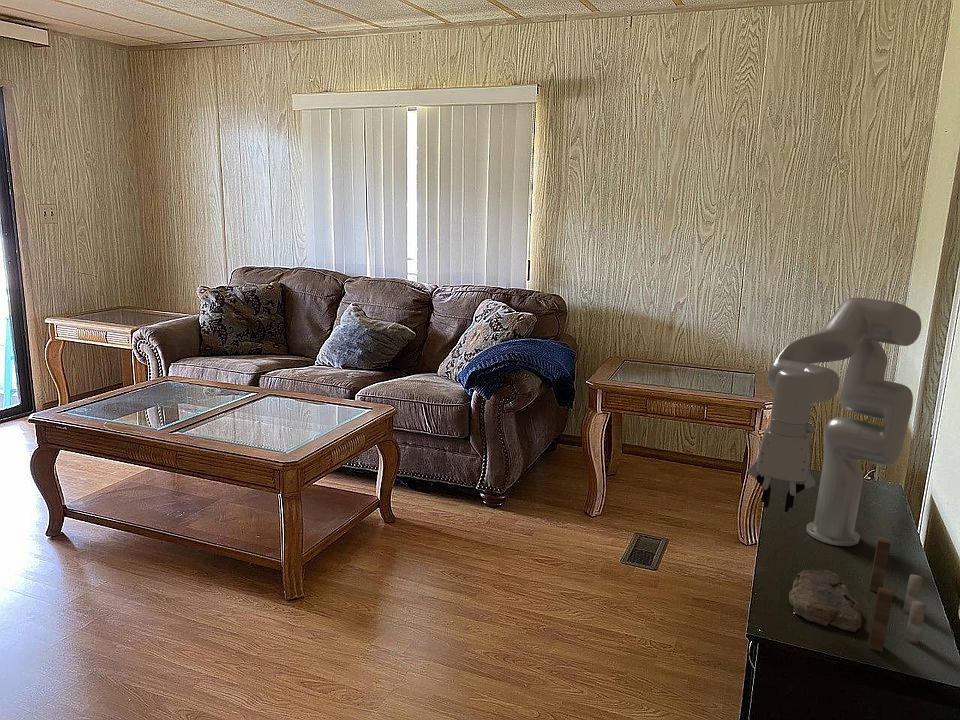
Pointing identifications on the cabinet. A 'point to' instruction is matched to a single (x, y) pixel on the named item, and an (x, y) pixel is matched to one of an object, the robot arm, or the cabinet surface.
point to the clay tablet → (825, 600)
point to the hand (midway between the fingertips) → (776, 506)
